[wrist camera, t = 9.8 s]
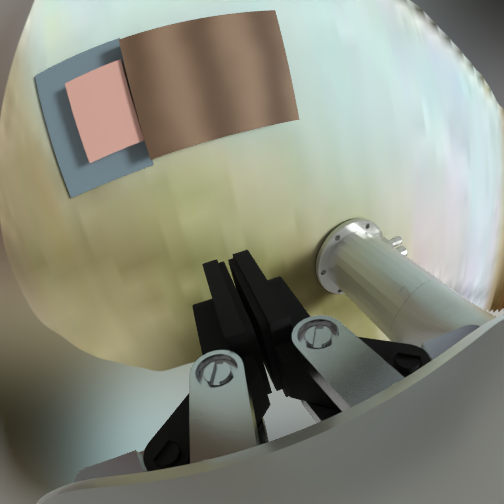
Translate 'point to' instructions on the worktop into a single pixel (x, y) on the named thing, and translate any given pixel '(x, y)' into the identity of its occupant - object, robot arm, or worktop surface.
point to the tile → (104, 110)
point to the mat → (65, 129)
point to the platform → (208, 79)
